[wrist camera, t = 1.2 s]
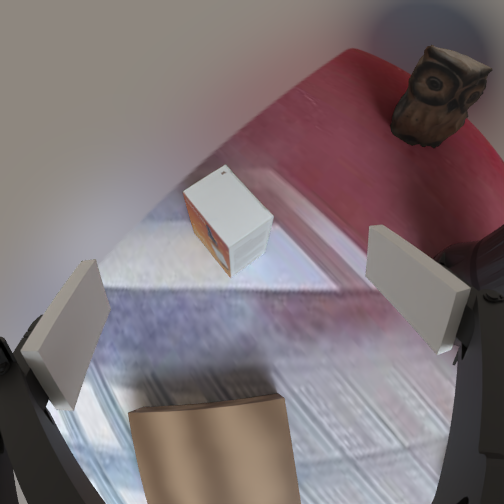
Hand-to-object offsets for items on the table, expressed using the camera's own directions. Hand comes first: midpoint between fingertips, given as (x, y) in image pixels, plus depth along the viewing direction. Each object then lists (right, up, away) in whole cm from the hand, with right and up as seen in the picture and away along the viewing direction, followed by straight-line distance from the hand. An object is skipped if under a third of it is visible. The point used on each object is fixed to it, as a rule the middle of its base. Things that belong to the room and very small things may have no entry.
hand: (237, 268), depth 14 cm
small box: (-2, +2, +26) cm, 26 cm away
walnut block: (-3, -23, +17) cm, 29 cm away
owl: (+32, +25, +36) cm, 54 cm away
